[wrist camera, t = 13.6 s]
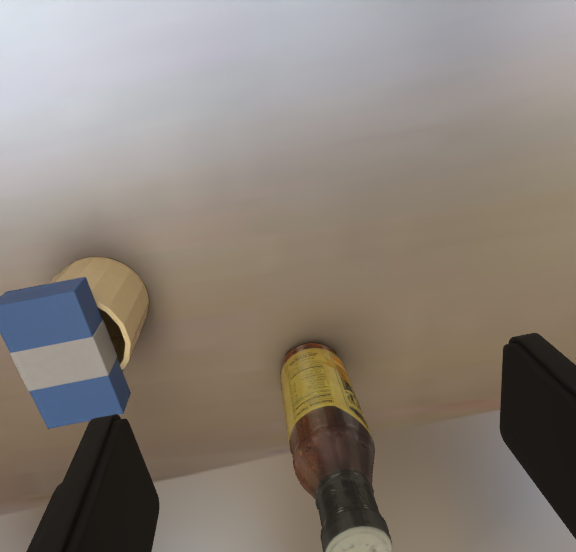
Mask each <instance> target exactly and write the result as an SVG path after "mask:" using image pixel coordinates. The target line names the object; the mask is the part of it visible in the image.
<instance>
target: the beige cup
mask: <svg viewBox="0 0 576 552" xmlns="http://www.w3.org/2000/svg"><path fill="white" fill-rule="evenodd" d="M81 277H86V278H87V281H88V284H89V286H90V289H91V291H92V294H93V297H94V299H95V302H96V304H97V307H98V310H99V312H100V315H101V317H102V320H104V323H105V326H106V328H107V331H108V333H109V336H110V339H111V341H112V344H113V346H114V349H115V352H116V354H117V359H118V362H119V364H120V367H121V370H122V371H123V369H124V368H125V366H126V365H127V363H128V362H129V359H130V357H131V354H132V352H133V349H134V347H135V344H136V342H137V339H138V337H139V334H140V332H141V329H142V327H143V325H144V322H145V320H146V317H147V312H148V307H149V298H148V293H147V290H146V287H145V285H144V283H143V282H142V280H141V279H140V278H139V276H138V275H137V274H136V273H135V272H134V271H133V270H132V269H130V268H129V267H127V266H126V265H124V264H122V263H120V262H118V261H115V260H113V259H109V258H103V257H89V258H83V259H80V260H77V261H75V262H73V263H71V264H69V265H68V266H67V267H66V268H64V269H63V270H62V271H60V272H59V273H58V274H57V275H56V276H55V277H54V278H53V279H52V280H51V281H50V282H49V283H48V284H50V283H55V282H60V281H65V280H71V279H76V278H81Z"/></svg>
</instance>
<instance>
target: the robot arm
mask: <svg viewBox="0 0 576 552" xmlns="http://www.w3.org/2000/svg"><path fill="white" fill-rule="evenodd" d="M500 411H501V412H500V432H501V435H502V438H503V440H504V442H505V443H506V445H507V446H508V448H509V449H510V450H511V452H512V453H513V454H514V456H515V457H516V459H517V460H518V461H519V463H520V464H521V465H522V466H523V468H524V469H525V471H526V472H527V473H528V475H529V476H530V478H531V479H532V480H533V482H534V483H535V484H536V486H537V487H538V488H539V490H540V491H541V492H542V494H543V495H544V497H545V498H546V499H547V500H548V502H549V503H550V505H551V506H552V507H553V509H554V510H555V512H556V513H557V514H558V516H559V517H560V518H561V520H562V521H563V523H564V524H565V525H566V527H567V528H568V529H569V531H570V532H571V533H572V535H573V536H574V537H575V539H576V365H575V364H574V363H572V362H571V361H570V360H569V359H568V358H566V357H565V356H564V355H563V354H562V353H561V352H559V351H558V350H557V349H556V348H555V347H553V346H552V345H551V344H550V343H549V342H547V341H546V340H545V339H544V338H543V337H542V336H540V335H539V334H537V333H532V334H526V335H521V336H516V337H512V338H511V339H510V340H509V344H506V345H505V346H504V348H503V364H502V386H501V409H500ZM158 514H159V498H158V495H157V493H156V489H155V487H154V485H153V482H152V479H151V477H150V474H149V472H148V469H147V467H146V464H145V462H144V459H143V457H142V454H141V452H140V449H139V447H138V444H137V442H136V439H135V437H134V434H133V432H132V429H131V427H130V424H129V422H128V420H127V419H121V418H120V417H119V416H118V415H117V414H114V415H109V416H104V417H98V418H93V419H92V420H91V421H90V422H89V424H88V426H87V429H86V431H85V433H84V435H83V438H82V440H81V442H80V444H79V447H78V449H77V451H76V453H75V456H74V458H73V460H72V462H71V464H70V467H69V469H68V471H67V473H66V476H65V478H64V480H63V482H62V483H61V484H60V485H59V486H57V488H56V490H55V491H54V493H53V495H52V497H51V500H50V502H49V504H48V506H47V508H46V511H45V513H44V515H43V517H42V520H41V521H40V524H39V526H38V528H37V530H36V533H35V534H34V537H33V539H32V541H31V543H30V545H29V548H28V550H27V552H151V550H152V545H153V540H154V535H155V530H156V525H157V519H158Z"/></svg>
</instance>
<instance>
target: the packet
mask: <svg viewBox="0 0 576 552" xmlns="http://www.w3.org/2000/svg"><path fill="white" fill-rule="evenodd" d="M0 333H1V335H2V337H3V339H4V341H5V343H6V345H7V347H8V349H9V351H10V356H11V358H12V360H13V362H14V364H15V366H16V368H17V370H18V372H19V374H20V376H21V378H22V380H23V382H24V384H25V386H26V388H27V390H28V391H29V392H30V394H31V396H32V398H33V400H34V402H35V404H36V406H37V408H38V410H39V412H40V414H41V416H42V418H43V420H44V422H45V424H46V426H47V428H48V429H50V428H55V427H60V426H65V425H70V424H75V423H80V422H84V421H89V420H92V419H93V418H98V417H104V416H109V415H114V414H117V415H119V414H123V413H124V410H125V408H126V405H127V402H128V399H129V396H130V390H129V388H128V385H127V383H126V380H125V377H124V375H123V372H122V370H121V367H120V364H119V362H118V359H117V354H116V352H115V349H114V346H113V344H112V341H111V339H110V336H109V333H108V331H107V328H106V326H105V323H104V320H102V317H101V315H100V312H99V310H98V307H97V304H96V302H95V299H94V297H93V294H92V291H91V289H90V286H89V284H88V281H87V278H86V277H81V278H76V279H71V280H65V281H60V282H55V283H50V284H45V285H39V286H34V287H29V288H24V289H19V290H13V291H8V292H5V293H4V294H3V295H2V296H1V297H0Z"/></svg>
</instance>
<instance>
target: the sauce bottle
mask: <svg viewBox="0 0 576 552" xmlns="http://www.w3.org/2000/svg"><path fill="white" fill-rule="evenodd" d="M280 375H281V388H282V396H283V403H284V410H285V417H286V424H287V431H288V438H289V445H290V450H291V453H292V455H293V465H294V469H295V473H296V476H297V478H298V480H299V481H300V484H301V485H302V486H303V488H304V489H305V490H306V491H307V492H308V493H309V494H311V495H312V496H313V497H314V498H315V499H316V506H317V509H318V510H319V514H320V520H321V525H322V529H321V541H322V547H323V552H391V550H392V541H391V537H390V534H389V530H388V527H387V524H386V521H385V520H384V519H383V517H382V516H381V515H380V513H379V511H378V506H377V504H376V501H375V498H374V494H373V493H374V490H373V487H372V473H373V472H372V471H373V464H374V453H375V448H374V442H373V439H372V436H371V434H370V431H369V428H368V426H367V423H366V421H365V418H364V416H363V413H362V411H361V408H360V406H359V403H358V401H357V398H356V395H355V393H354V391H353V388H352V385H351V383H350V380H349V378H348V375H347V373H346V370H345V368H344V365H343V363H342V361H341V360H340V359H339V358H338V357H337V355H336V353H335V352H334V351H333V350H332V349H330V348H329V347H327V346H324V345H320V344H316V343H308V344H304V345H300V346H298V347H297V348H294V349H293V350H291V351H290V352H289V353H288V354H287V355H286V357H285V359H284V361H283V364H282V368H281V374H280Z"/></svg>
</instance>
